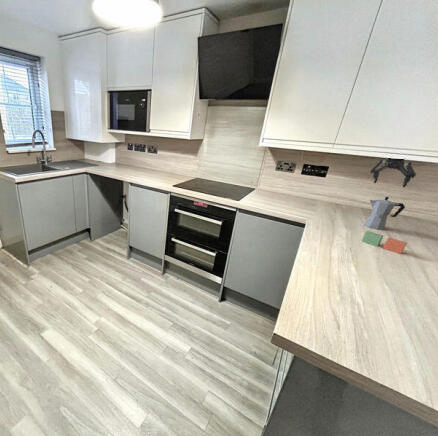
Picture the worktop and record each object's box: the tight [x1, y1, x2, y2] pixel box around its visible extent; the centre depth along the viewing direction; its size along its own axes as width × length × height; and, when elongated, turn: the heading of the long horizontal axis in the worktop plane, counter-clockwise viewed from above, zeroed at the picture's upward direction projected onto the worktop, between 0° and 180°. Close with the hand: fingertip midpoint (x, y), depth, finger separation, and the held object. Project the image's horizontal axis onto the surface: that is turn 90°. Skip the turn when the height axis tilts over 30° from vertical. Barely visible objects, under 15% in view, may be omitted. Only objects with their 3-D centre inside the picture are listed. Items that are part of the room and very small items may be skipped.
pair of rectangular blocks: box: [361, 230, 408, 255], centre depth 110 cm, size 14×3×5 cm, turn 33°
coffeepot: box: [363, 196, 406, 231], centre depth 132 cm, size 15×9×18 cm, turn 64°
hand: (389, 183), depth 138 cm, fingers open, 12 cm apart
